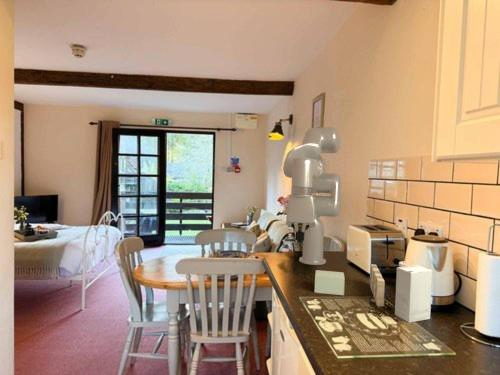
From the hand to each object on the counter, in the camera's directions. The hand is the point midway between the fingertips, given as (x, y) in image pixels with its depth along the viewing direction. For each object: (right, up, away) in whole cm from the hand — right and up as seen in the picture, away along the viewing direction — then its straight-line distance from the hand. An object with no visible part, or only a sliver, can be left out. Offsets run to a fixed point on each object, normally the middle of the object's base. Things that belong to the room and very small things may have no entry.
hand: (299, 242), depth 128 cm
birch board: (+26, -18, -5) cm, 32 cm away
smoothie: (+40, -18, +2) cm, 44 cm away
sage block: (+10, -17, -1) cm, 20 cm away
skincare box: (+30, -19, -24) cm, 43 cm away
